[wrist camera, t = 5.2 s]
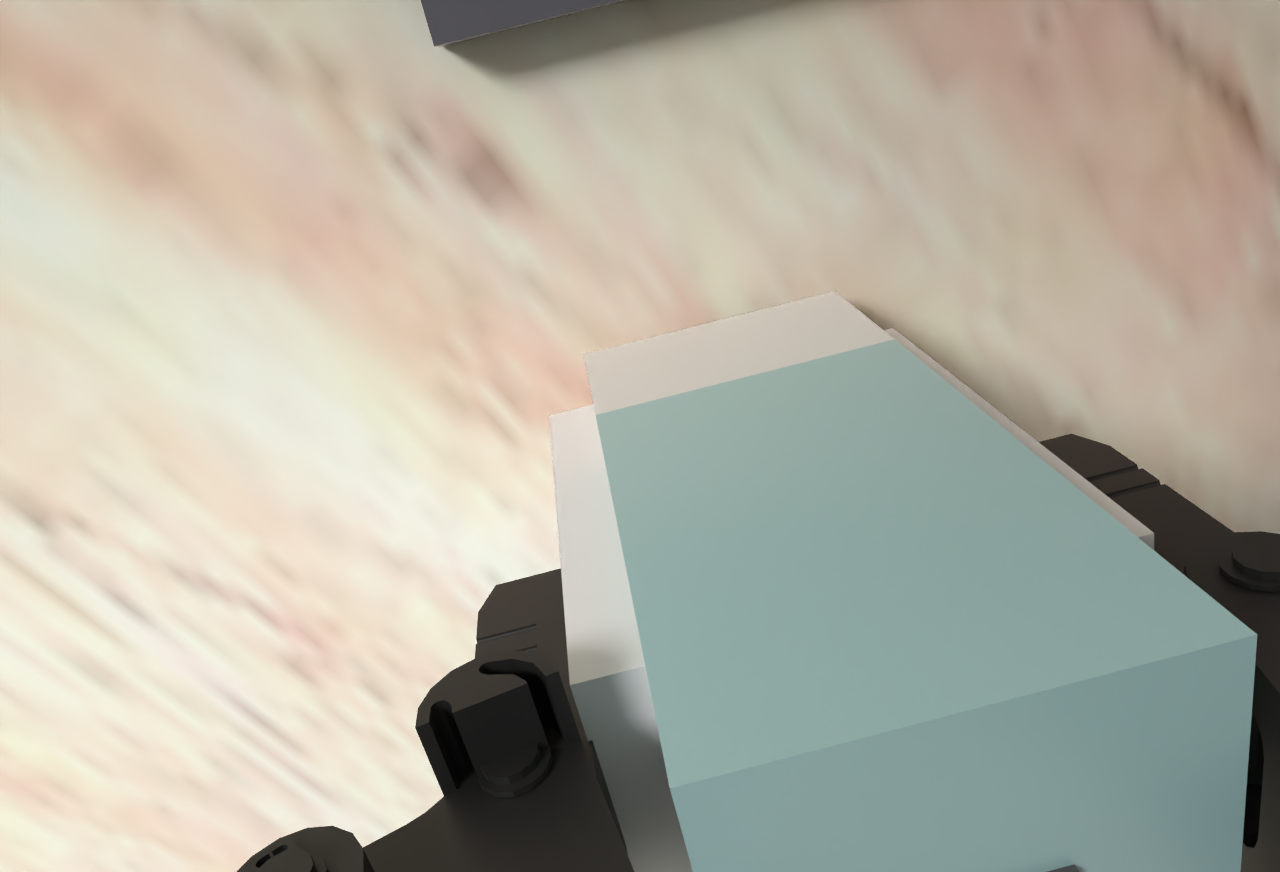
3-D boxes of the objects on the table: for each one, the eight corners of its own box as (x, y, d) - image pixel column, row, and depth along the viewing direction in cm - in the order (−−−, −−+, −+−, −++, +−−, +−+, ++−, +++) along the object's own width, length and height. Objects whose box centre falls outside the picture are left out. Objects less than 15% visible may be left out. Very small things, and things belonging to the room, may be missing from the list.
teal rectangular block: (640, 569, 16) (770, 1151, 8) (583, 354, 14) (671, 798, 6) (865, 511, 16) (1236, 1025, 8) (835, 290, 14) (1265, 641, 6)
